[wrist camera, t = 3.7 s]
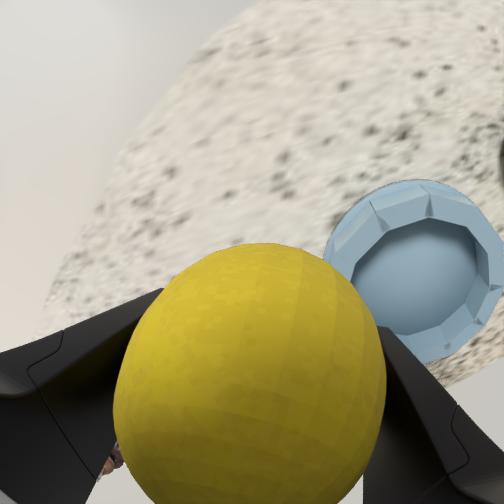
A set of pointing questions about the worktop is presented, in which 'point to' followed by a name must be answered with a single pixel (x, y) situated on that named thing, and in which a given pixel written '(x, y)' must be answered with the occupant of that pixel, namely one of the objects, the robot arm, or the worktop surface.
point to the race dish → (421, 263)
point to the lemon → (252, 383)
